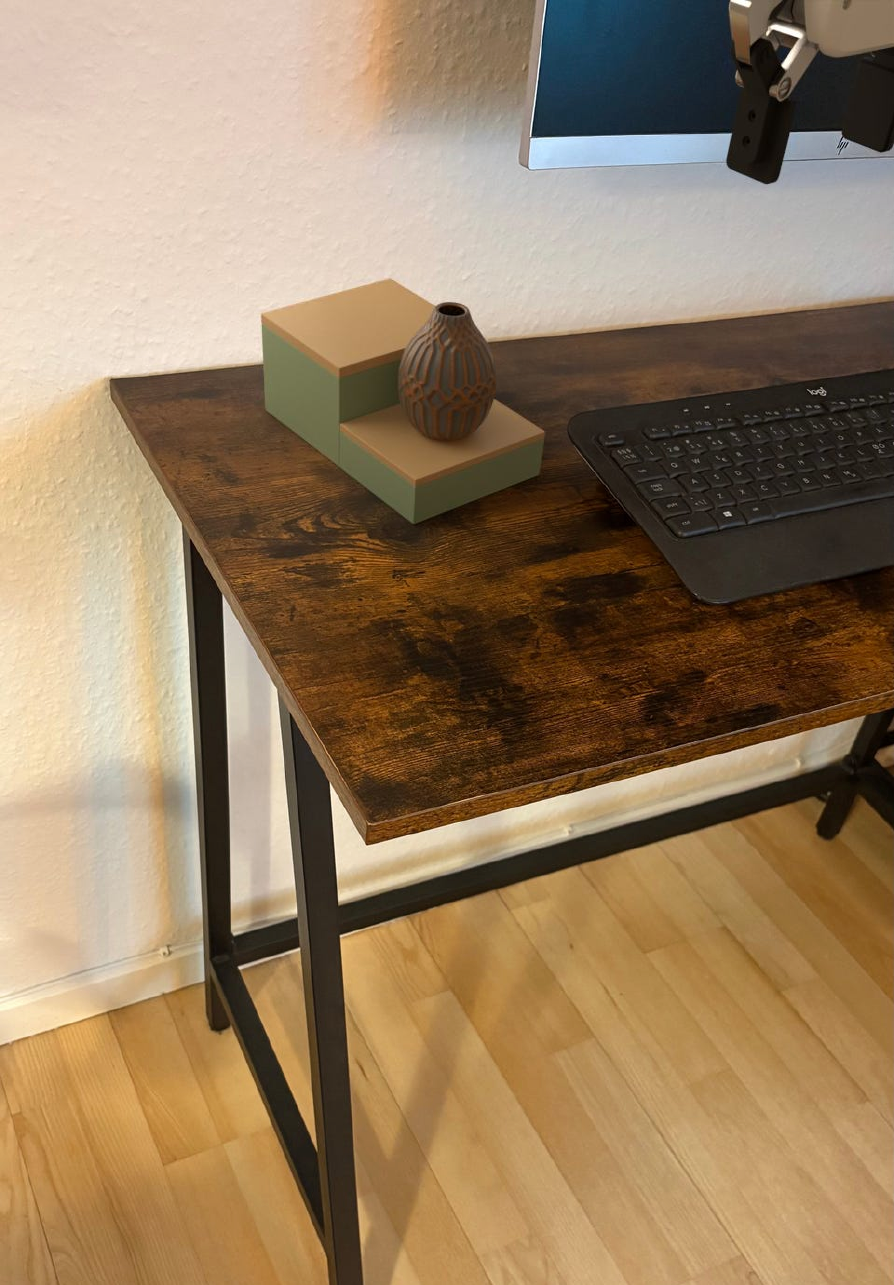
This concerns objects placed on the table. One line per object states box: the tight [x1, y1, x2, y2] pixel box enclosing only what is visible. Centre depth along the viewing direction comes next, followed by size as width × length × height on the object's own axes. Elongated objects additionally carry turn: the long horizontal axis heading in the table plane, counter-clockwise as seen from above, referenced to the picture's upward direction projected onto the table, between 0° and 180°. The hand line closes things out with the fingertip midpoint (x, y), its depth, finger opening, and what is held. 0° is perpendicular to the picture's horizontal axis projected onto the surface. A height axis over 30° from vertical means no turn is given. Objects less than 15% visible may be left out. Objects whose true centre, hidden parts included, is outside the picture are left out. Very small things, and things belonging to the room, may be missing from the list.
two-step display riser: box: [260, 278, 546, 525], centre depth 91 cm, size 19×12×8 cm, turn 39°
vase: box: [398, 301, 497, 441], centre depth 86 cm, size 7×7×9 cm
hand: (809, 159), depth 67 cm, fingers open, 9 cm apart
